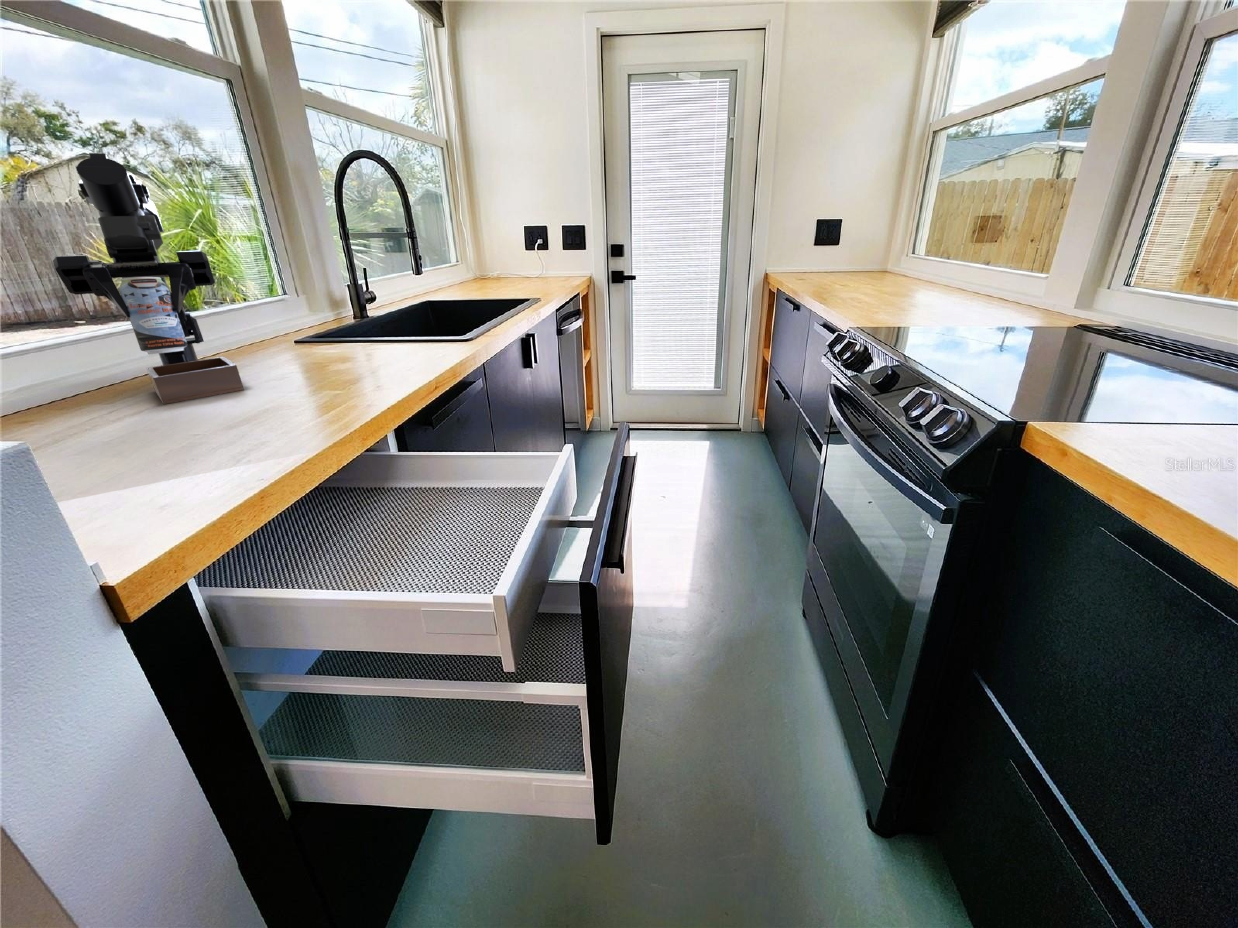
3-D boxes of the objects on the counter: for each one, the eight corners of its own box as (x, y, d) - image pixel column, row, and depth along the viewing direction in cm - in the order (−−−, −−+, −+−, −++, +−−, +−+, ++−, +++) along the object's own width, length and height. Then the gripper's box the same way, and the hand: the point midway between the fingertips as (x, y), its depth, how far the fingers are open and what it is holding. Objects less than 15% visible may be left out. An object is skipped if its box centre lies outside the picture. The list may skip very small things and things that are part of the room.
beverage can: (144, 360, 83) (111, 279, 78) (142, 353, 88) (112, 277, 83) (193, 353, 87) (165, 276, 82) (189, 347, 92) (162, 273, 87)
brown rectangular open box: (155, 392, 97) (146, 367, 95) (231, 379, 104) (223, 356, 102) (163, 404, 89) (153, 378, 87) (244, 389, 96) (236, 365, 94)
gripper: (25, 196, 76) (48, 283, 72) (187, 196, 86) (214, 273, 83) (59, 253, 85) (81, 333, 81) (202, 248, 95) (227, 319, 92)
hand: (152, 313), depth 84 cm, fingers closed on beverage can, 6 cm apart
